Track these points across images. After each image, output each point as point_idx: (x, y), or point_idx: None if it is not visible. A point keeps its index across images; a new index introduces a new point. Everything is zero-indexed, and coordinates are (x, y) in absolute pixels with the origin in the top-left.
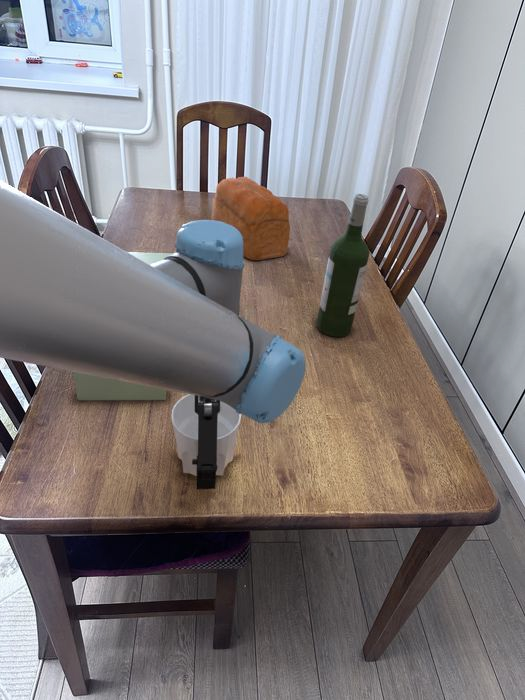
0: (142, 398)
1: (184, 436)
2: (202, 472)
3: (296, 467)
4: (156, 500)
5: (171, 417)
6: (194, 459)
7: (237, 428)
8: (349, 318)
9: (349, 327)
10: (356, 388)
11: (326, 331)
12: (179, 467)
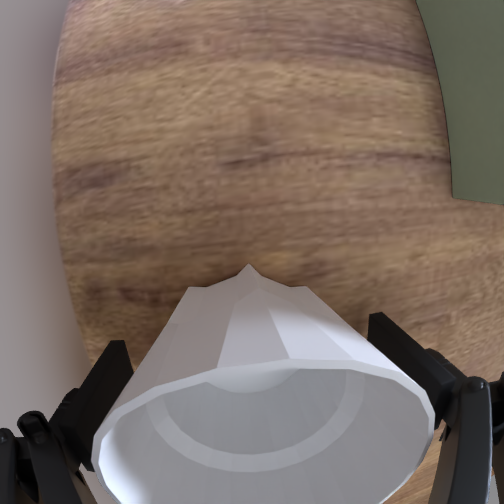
0: (452, 133)
1: (100, 425)
2: (56, 415)
3: None
4: (93, 225)
5: (227, 367)
6: (45, 423)
7: None
8: None
9: (492, 466)
10: (399, 499)
11: None
12: (209, 271)
